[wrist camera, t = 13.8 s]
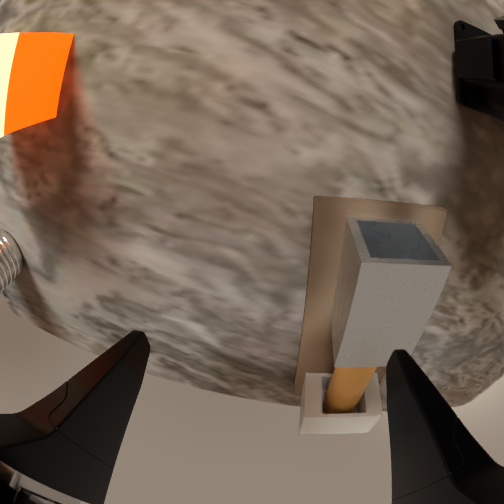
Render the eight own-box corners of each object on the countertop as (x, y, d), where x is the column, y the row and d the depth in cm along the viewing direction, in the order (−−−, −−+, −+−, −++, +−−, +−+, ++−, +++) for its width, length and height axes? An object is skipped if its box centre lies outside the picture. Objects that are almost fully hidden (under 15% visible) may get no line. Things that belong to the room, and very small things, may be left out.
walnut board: (443, 207, 17) (447, 211, 16) (371, 388, 30) (372, 393, 29) (313, 196, 18) (314, 200, 18) (293, 388, 31) (293, 394, 30)
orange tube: (387, 310, 20) (396, 344, 18) (353, 391, 27) (355, 418, 24) (345, 310, 21) (350, 345, 18) (322, 391, 28) (322, 419, 25)
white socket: (376, 372, 26) (382, 414, 22) (365, 394, 29) (368, 432, 25) (305, 372, 28) (303, 416, 23) (301, 394, 30) (298, 433, 26)
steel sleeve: (420, 221, 17) (451, 266, 13) (391, 315, 22) (404, 365, 17) (346, 216, 18) (361, 262, 13) (330, 314, 23) (334, 367, 18)
